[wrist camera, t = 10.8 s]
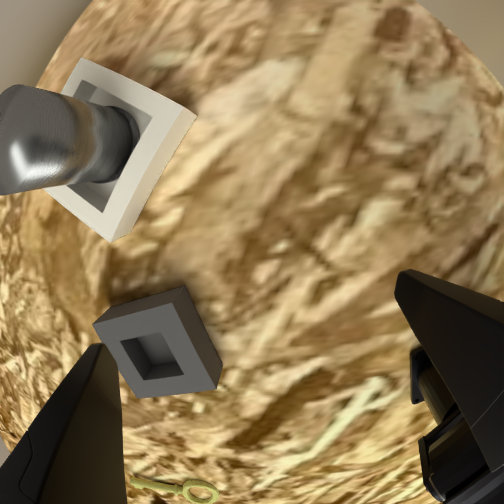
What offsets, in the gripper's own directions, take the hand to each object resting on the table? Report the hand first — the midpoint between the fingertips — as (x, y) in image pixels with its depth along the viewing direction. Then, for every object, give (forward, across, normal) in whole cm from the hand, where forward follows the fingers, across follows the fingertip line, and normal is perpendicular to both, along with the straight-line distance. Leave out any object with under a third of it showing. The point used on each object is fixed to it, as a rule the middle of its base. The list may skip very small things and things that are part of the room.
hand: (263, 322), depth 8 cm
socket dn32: (+11, +6, +10) cm, 16 cm away
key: (+7, +13, +34) cm, 37 cm away
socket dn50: (+15, +6, -4) cm, 17 cm away
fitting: (+14, +6, -4) cm, 16 cm away
